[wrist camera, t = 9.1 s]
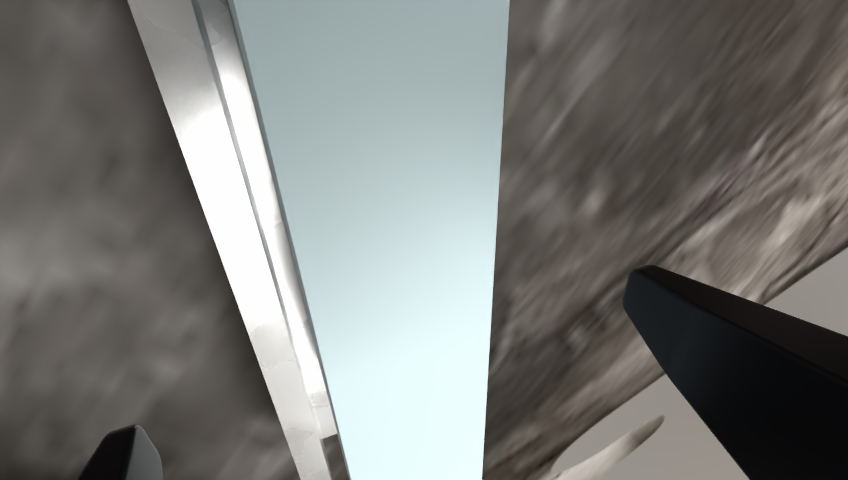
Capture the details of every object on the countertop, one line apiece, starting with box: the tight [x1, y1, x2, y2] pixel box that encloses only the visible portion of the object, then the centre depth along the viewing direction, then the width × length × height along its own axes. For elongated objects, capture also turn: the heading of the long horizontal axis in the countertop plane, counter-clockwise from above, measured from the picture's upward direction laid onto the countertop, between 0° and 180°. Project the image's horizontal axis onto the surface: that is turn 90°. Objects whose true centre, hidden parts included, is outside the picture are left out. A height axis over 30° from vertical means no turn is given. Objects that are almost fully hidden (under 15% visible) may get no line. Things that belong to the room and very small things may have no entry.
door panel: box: [227, 0, 510, 480], centre depth 12 cm, size 16×3×8 cm, turn 2°
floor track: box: [127, 0, 337, 480], centre depth 14 cm, size 26×6×4 cm, turn 2°
